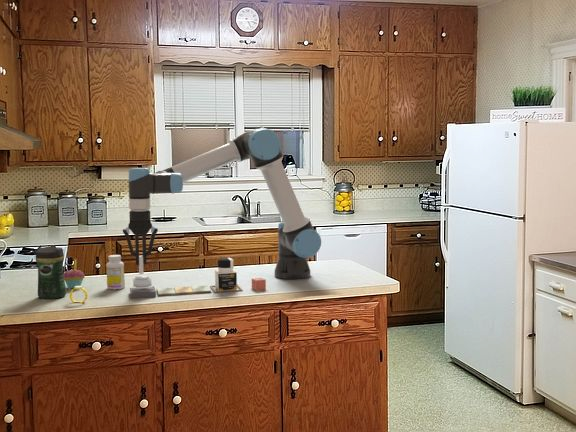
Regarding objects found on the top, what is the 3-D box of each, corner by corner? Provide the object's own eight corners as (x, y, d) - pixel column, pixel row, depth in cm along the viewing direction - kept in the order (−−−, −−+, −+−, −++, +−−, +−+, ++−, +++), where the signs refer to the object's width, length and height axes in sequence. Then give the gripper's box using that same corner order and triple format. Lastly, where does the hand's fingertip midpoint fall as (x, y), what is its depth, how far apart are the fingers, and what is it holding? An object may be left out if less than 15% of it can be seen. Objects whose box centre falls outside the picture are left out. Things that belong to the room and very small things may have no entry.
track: (207, 287, 260) (207, 285, 259) (211, 292, 250) (211, 290, 250) (156, 290, 254) (156, 288, 254) (158, 296, 245) (158, 294, 245)
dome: (150, 283, 251) (150, 274, 251) (152, 286, 245) (151, 277, 244) (133, 284, 249) (132, 275, 249) (133, 287, 243) (133, 279, 243)
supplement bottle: (115, 285, 264) (114, 253, 262) (128, 287, 261) (127, 254, 259) (103, 289, 258) (102, 256, 256) (116, 290, 255) (115, 257, 253)
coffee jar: (69, 294, 249) (67, 245, 247) (59, 299, 241) (57, 249, 239) (44, 294, 250) (42, 245, 248) (34, 299, 242) (31, 248, 240)
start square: (237, 285, 263) (237, 284, 263) (242, 290, 253) (242, 289, 253) (210, 286, 260) (210, 285, 260) (214, 292, 250) (214, 291, 250)
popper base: (154, 291, 253) (154, 285, 253) (155, 296, 244) (155, 290, 244) (130, 293, 251) (129, 287, 250) (130, 298, 242) (130, 292, 242)
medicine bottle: (218, 291, 252) (217, 260, 251) (215, 287, 259) (214, 257, 257) (237, 290, 254) (236, 259, 253) (233, 286, 261) (232, 256, 259)
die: (260, 287, 258) (260, 277, 258) (265, 289, 255) (265, 279, 254) (251, 288, 256) (251, 278, 256) (256, 290, 253) (256, 280, 252)
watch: (88, 302, 238) (88, 286, 237) (85, 304, 235) (86, 287, 235) (71, 301, 238) (72, 285, 238) (68, 303, 236) (69, 286, 235)
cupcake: (89, 286, 262) (88, 256, 261) (72, 290, 255) (71, 260, 254) (74, 284, 267) (73, 254, 265) (57, 288, 260) (56, 258, 258)
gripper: (157, 208, 249) (158, 270, 252) (121, 209, 246) (122, 272, 248) (158, 210, 242) (159, 274, 244) (121, 211, 238) (123, 276, 241)
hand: (141, 273), depth 246 cm, fingers closed
